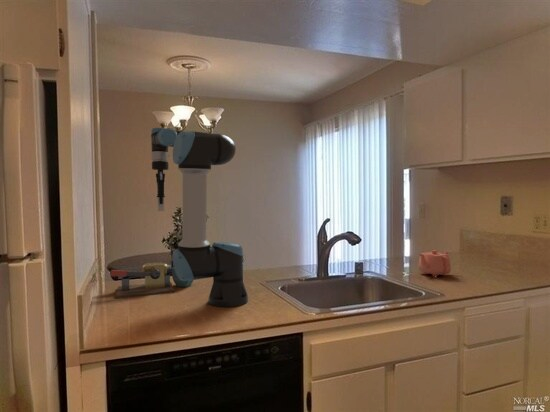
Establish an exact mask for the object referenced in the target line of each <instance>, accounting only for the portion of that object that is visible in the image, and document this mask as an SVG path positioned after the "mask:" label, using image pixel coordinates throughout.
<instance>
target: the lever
mask: <svg viewBox="0 0 550 412" xmlns="http://www.w3.org/2000/svg"><path fill="white" fill-rule="evenodd" d="M118 276H151V278H152V279H158V278H159V277H160V271H159V270H157V269H153V270H152V271H151V272H144V271H127V270H118V269H110V277H118Z"/></svg>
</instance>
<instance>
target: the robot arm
mask: <svg viewBox="0 0 550 412" xmlns="http://www.w3.org/2000/svg"><path fill="white" fill-rule="evenodd" d="M150 133H151V134H150V137H151V138H150V140H151V142H150V143H151V161H152V162H151V170H154V171H157V173H155V178H156V179H155V180H156V187H157V196H156V198H157V212H164V211H165V197H166V196H165V182H166V181H165V180H166V179H165V177H166V173H164V171H168V170H169V162H168V161H169V157H170V154H169V147H172V161H173V163H174V164H175V165H177V166H178V170H179V172H180V173H181V175H182V214H181V215H182V218H181V219H182V221H181V222H182V223H181V224H182V231H181V233H182V235H181V236H182V237H181V240H180V241H179V242H178V244H177V248H175V250H173V252H172V256H171V257H172V266H173V267H174V270H175V272H176V275H177V277H178V278H179V279H180V280H182V281H188V280H191V281H193V282H194V280H195V281H196V280H202V279H209V278H212V285H211V288H210V292H209V296H208V303H209V304H210V305H211V306H214V307H219V308H220V307H221V308H229V307H230V308H231V307H238V306H242V305H245V304H246V303H248V300H249V299H248V297H249V296H248V292H247V289H246V286H245V282H244V253H243V251H244V250H243V246H242V245H241V244H238V243H236V242H235V243H234V242H226V241H225V242H224V241H223V242H222V241H213V243H212V246H211V242H210V241H209V240H208V239H207V193H208V192H207V188H208V187H207V185H208V182H207V181H208V180H207V179H208V175H209V174H208V173H209V172H210V171H211V170H212V166H222V165H226V164H227V163H229V162H230V161H232V159H234V157H235V155H236V152H237V151H236V150H237V148H236V145H235V142H234V141H233V139H231V138H230V136H227V135H224V134H221V133H210V132H203V131H195V130H194V131H193V130H190V131H189V130H187V131H185V130H175V129H173V128H169V127H168V128H167V127H166V128H165V127H153V128H151V132H150Z"/></svg>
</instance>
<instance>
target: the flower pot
mask: <svg viewBox="0 0 550 412" xmlns="http://www.w3.org/2000/svg"><path fill="white" fill-rule="evenodd" d="M171 277H172V281H173V283H174V284H175V286H176V287H178V288H179V287H182V288H183V287H185V288H187V287H189V286H190V285H192V284H193V283H194V280H193V281H191V280H188V281H182V280H180V279H179V278H178V277H177V275H176V272H175V270H174V266H173V267H171Z"/></svg>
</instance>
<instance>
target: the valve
mask: <svg viewBox="0 0 550 412" xmlns="http://www.w3.org/2000/svg"><path fill="white" fill-rule="evenodd" d="M171 268H172V267H171V264H167V263H164V262H161V261H160V262H148V263H147V262H146V263H144V264H141V266H135V267H122V268H117V270H127V271H144V272H151V271H152V270H153V269H157V270H159V271H160V277H159V278H158V279H152V278H151V276H117V279H118V280H119V279H120V280H121V286H122V291H125V290H129V289H130V285H131V284H130V279H133V278H141V279H142V280H143V279H144V284H145V289H151V288H162V287H166V286H170V282H171V275H172V271H171Z"/></svg>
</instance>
